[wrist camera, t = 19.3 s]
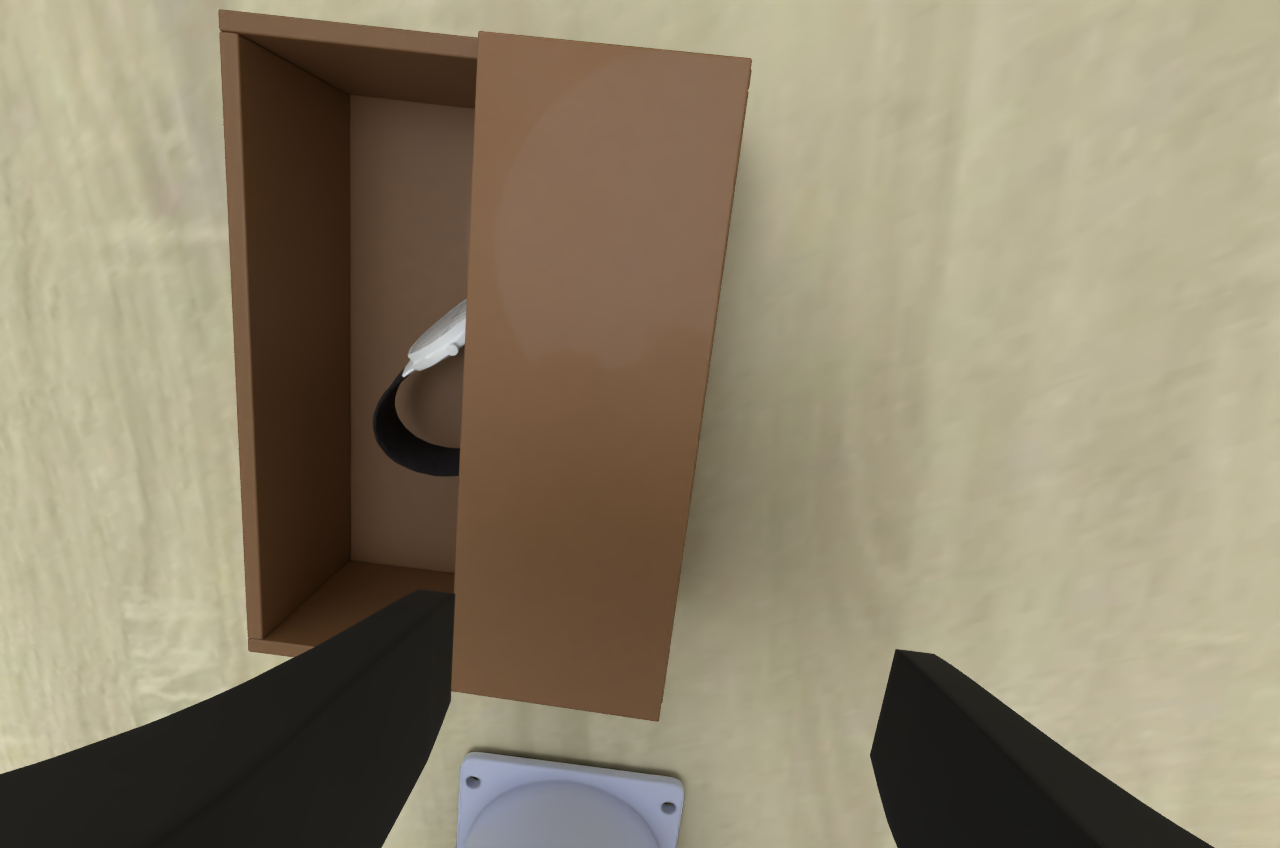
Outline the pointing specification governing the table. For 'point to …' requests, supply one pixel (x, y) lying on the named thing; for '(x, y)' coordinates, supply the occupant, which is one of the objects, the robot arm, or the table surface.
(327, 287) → the carton
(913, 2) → the table surface
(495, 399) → the flap
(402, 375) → the watch
